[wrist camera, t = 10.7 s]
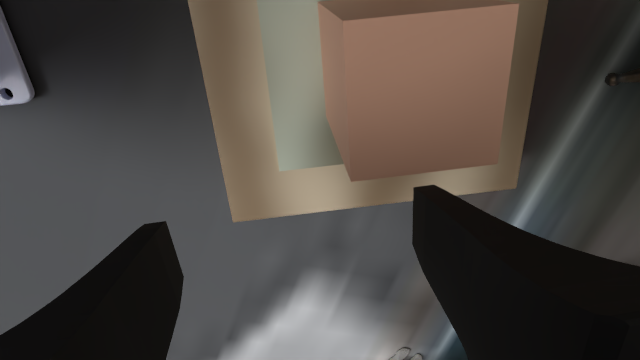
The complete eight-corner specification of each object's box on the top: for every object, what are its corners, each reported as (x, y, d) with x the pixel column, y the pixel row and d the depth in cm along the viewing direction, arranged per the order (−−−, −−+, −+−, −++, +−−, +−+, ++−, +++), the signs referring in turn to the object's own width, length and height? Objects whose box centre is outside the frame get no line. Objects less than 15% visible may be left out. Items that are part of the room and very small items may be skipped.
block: (326, 116, 18) (351, 182, 12) (317, 1, 15) (342, 21, 10) (429, 104, 18) (497, 164, 13) (435, -10, 16) (519, 3, 10)
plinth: (237, 191, 22) (232, 224, 19) (176, -127, 16) (156, -147, 13) (487, 162, 23) (518, 190, 20) (528, -151, 17) (581, -175, 14)
